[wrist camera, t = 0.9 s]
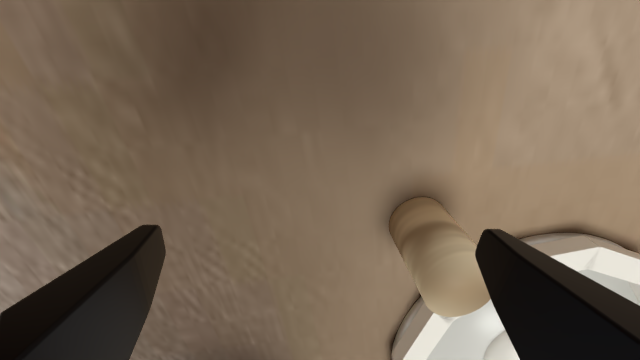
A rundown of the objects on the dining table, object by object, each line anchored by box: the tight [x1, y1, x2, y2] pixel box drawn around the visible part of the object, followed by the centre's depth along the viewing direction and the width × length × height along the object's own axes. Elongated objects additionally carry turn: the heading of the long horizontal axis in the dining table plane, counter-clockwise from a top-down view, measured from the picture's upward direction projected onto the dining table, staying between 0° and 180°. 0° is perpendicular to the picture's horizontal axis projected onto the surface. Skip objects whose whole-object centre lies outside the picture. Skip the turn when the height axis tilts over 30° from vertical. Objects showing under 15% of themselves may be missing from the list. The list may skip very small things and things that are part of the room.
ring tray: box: [391, 233, 640, 360], centre depth 31 cm, size 25×25×2 cm
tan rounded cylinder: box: [389, 197, 491, 317], centre depth 22 cm, size 4×4×7 cm
